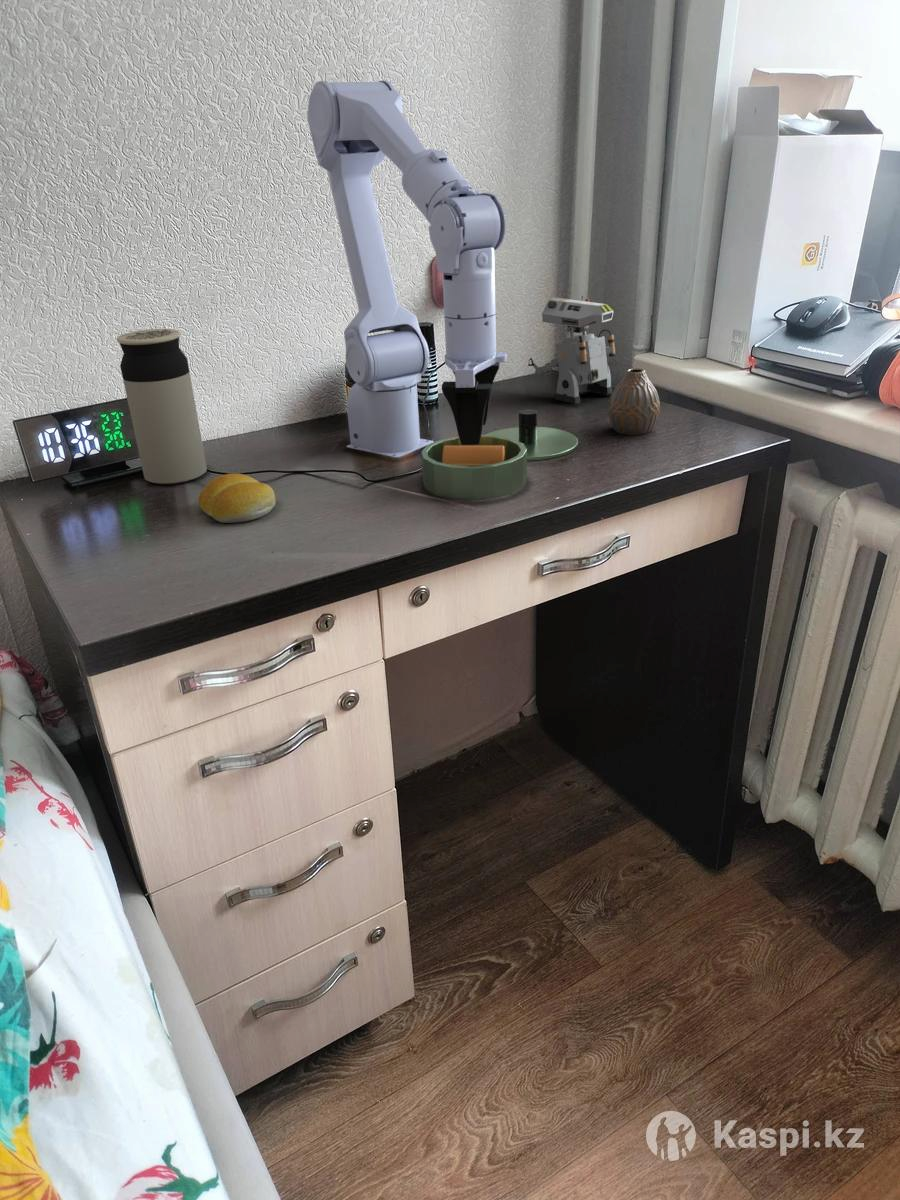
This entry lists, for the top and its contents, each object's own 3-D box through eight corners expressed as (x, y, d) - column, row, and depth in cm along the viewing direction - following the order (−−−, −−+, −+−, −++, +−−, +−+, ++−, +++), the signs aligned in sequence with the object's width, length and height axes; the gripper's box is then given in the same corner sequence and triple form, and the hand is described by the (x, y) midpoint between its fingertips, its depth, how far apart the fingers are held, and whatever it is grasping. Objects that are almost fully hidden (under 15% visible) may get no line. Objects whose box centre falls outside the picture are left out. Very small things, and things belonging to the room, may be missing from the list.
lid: (458, 454, 116) (456, 417, 114) (513, 429, 126) (513, 394, 123) (543, 471, 109) (544, 432, 107) (595, 443, 118) (597, 406, 116)
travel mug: (219, 473, 114) (194, 332, 106) (165, 490, 109) (135, 343, 101) (186, 461, 119) (160, 325, 111) (133, 477, 114) (102, 336, 106)
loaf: (443, 488, 104) (441, 452, 102) (447, 476, 108) (446, 441, 106) (503, 488, 103) (502, 451, 101) (505, 476, 107) (505, 440, 105)
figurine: (565, 385, 146) (567, 292, 139) (619, 397, 139) (624, 298, 132) (527, 396, 141) (527, 300, 134) (581, 409, 133) (584, 307, 126)
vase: (665, 429, 122) (669, 367, 118) (647, 443, 117) (651, 378, 113) (619, 424, 126) (622, 362, 122) (599, 437, 121) (601, 373, 117)
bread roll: (227, 531, 96) (221, 497, 95) (191, 510, 103) (185, 478, 101) (291, 510, 101) (287, 477, 99) (253, 491, 107) (248, 460, 105)
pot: (403, 491, 105) (400, 456, 103) (464, 462, 114) (462, 429, 112) (487, 511, 98) (486, 474, 96) (545, 478, 107) (545, 444, 105)
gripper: (501, 326, 90) (503, 453, 96) (510, 303, 102) (511, 416, 109) (433, 327, 91) (440, 453, 97) (450, 304, 103) (455, 416, 110)
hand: (473, 433), depth 103 cm, fingers open, 7 cm apart
